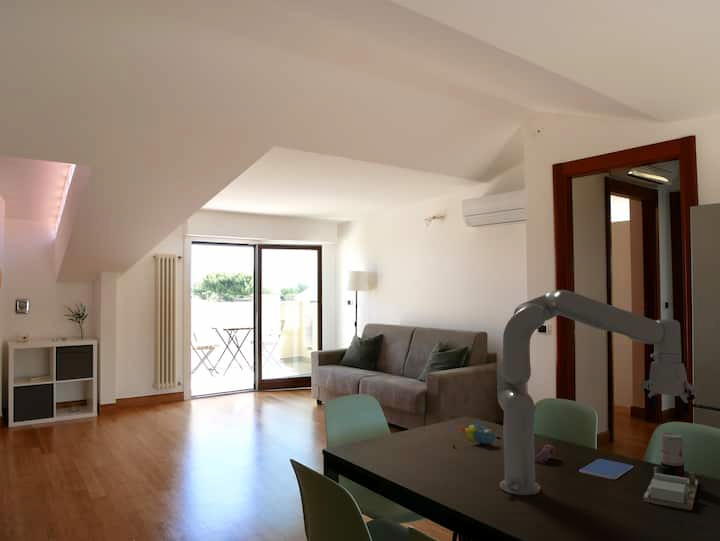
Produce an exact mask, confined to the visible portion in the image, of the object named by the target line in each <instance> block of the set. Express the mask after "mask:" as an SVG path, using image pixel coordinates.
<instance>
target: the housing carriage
mask: <svg viewBox="0 0 720 541" xmlns="http://www.w3.org/2000/svg"><path fill="white" fill-rule="evenodd" d="M653 474H654V473H653ZM653 476H654V481H653V483H652V485H651V498H656V499H661V500H666V501H672V502H677V503H683V504H684V500H685V497H686V478H687V477H685V478H683V477H677V476H671V475H664V474H661V473H660V474H658V473H655V474H654V475H653Z"/></svg>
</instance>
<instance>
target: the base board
mask: <svg viewBox="0 0 720 541" xmlns="http://www.w3.org/2000/svg"><path fill="white" fill-rule="evenodd" d="M660 471H661V470H660V467H659V466H654V467H653V474H655V473H658V474H661V472H660ZM688 476H689V477H685V478H686V497H685V500H684V504H683V503H677V502H672V501H666V500H661V499H656V498H651V485H652V483H653V481H654V475H653V477H652V479H651V481H650V482H649V485H648V487H647V489H646V491H645V493H644V495H643V497H642V498H643V500H642V501H643V502H644V501H646V502H645V503H649V502H651V503H650V504H656V505H660V506H661V505H662V506H667V507H670V508H677V509H681V508H682V509H683V510H686V509H687V511H692V510H693V507H694V503H695V502H694V501H695V499H694V498H696V494H697V489H698V485H699V479H697V478H696V473H695V472H693V471H689V472H688Z"/></svg>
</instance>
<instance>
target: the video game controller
mask: <svg viewBox="0 0 720 541" xmlns="http://www.w3.org/2000/svg"><path fill="white" fill-rule="evenodd" d="M555 450H556V447H555V446H554V445H552V444H546V445H544V446H543V448H542V450H540V451H539V453H538V454H535V455H534V457H535V463H541V462H542V461H543V462H544V461H545V462H546V461H547V460H550V459H551V456H552V455H553V453H554V452H555Z"/></svg>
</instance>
